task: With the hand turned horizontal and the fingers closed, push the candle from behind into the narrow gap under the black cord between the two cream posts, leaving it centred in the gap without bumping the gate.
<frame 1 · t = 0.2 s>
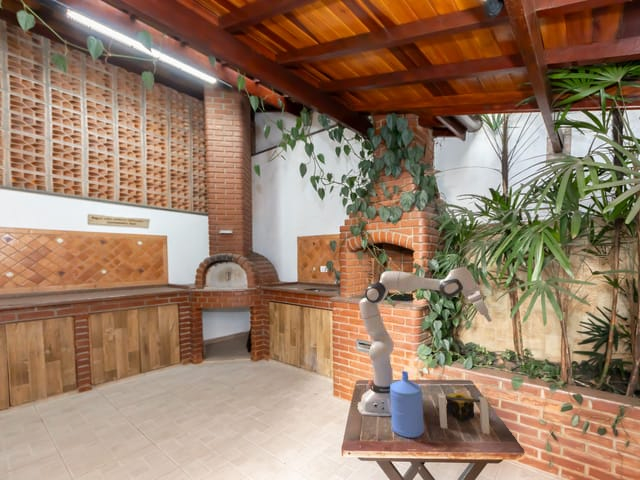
hand: (489, 319, 152), 54 cm above the table, tool tilted 25°, fingers open, 8 cm apart
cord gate: (463, 428, 151), on the table
water jug: (407, 429, 152), on the table
candle: (460, 416, 162), on the table
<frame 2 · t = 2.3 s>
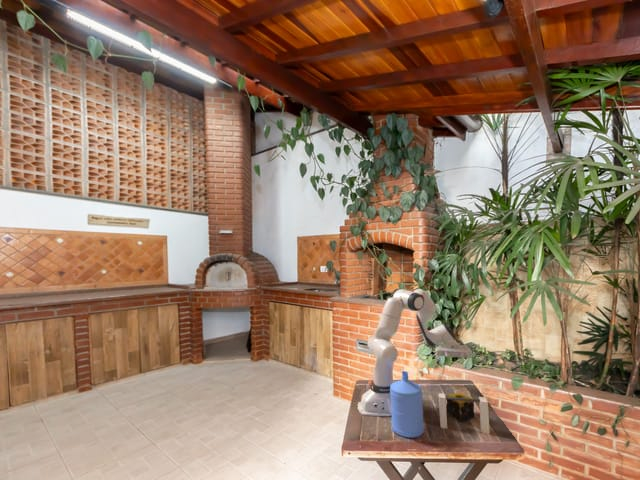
hand: (455, 356, 173), 28 cm above the table, tool horizontal, fingers open, 5 cm apart
nothing on the table moved.
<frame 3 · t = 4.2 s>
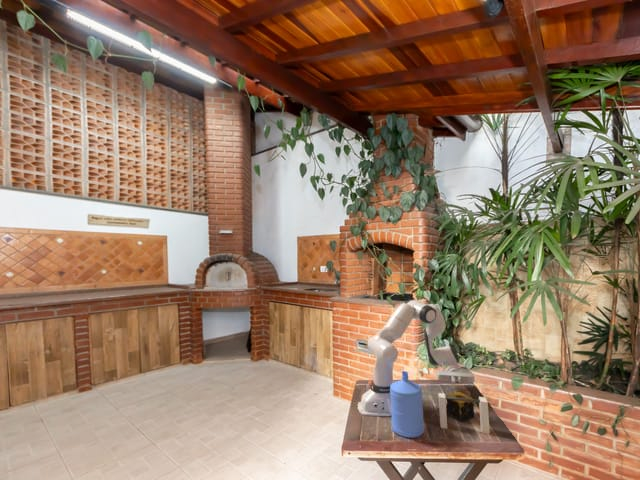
hand: (457, 381, 173), 14 cm above the table, tool horizontal, fingers closed
nothing on the table moved.
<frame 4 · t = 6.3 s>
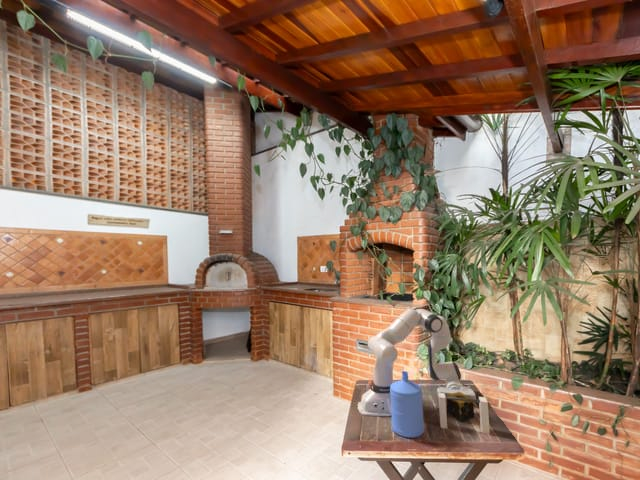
hand: (458, 400, 169), 5 cm above the table, tool horizontal, fingers closed
candle: (460, 416, 162), on the table, touching gripper
everything else where it was.
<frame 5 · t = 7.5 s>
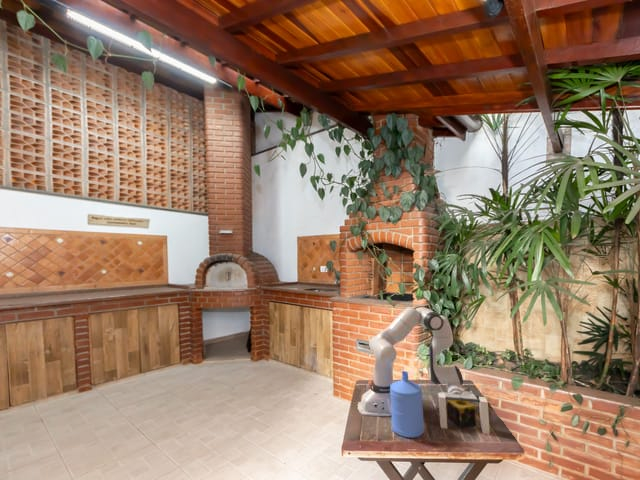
hand: (459, 406, 162), 5 cm above the table, tool horizontal, fingers closed
candle: (461, 422, 156), on the table, touching gripper
everything else where it was.
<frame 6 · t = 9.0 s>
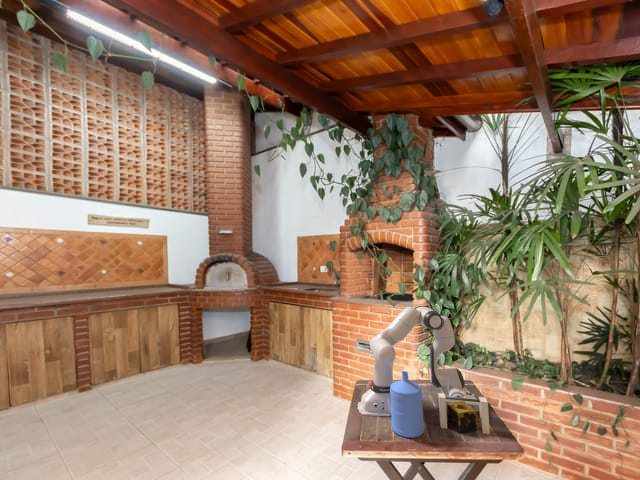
hand: (461, 410, 158), 5 cm above the table, tool horizontal, fingers closed
candle: (462, 427, 152), on the table, touching gripper
everything else where it was.
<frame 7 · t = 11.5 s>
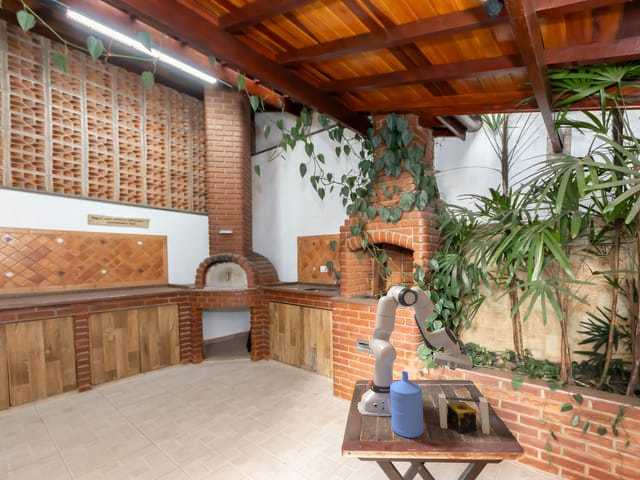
hand: (452, 368, 165), 24 cm above the table, tool horizontal, fingers closed
candle: (462, 427, 152), on the table
everything else where it was.
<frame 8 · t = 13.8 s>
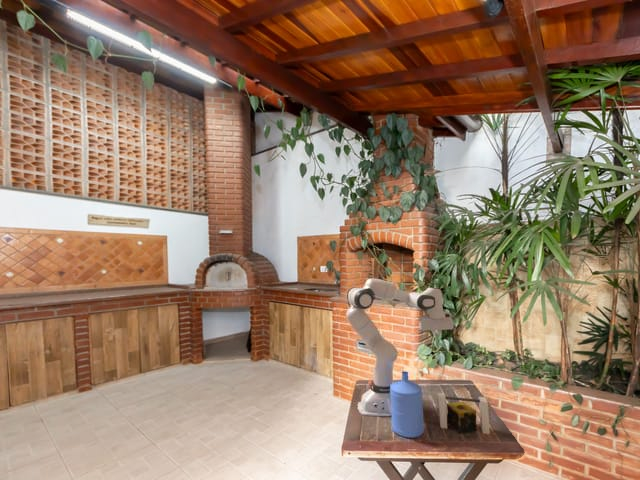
hand: (436, 337, 182), 37 cm above the table, tool pointing down, fingers closed
nothing on the table moved.
at the end: candle 1.2 cm from the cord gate (horizontally); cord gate moved 0.0 cm from its start; candle tilted 0° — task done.
